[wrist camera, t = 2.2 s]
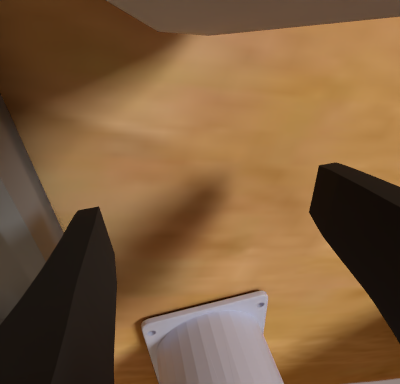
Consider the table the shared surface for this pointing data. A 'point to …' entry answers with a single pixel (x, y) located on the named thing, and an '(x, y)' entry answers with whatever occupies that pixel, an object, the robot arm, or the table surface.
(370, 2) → the salt shaker
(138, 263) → the table surface
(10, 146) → the tray
